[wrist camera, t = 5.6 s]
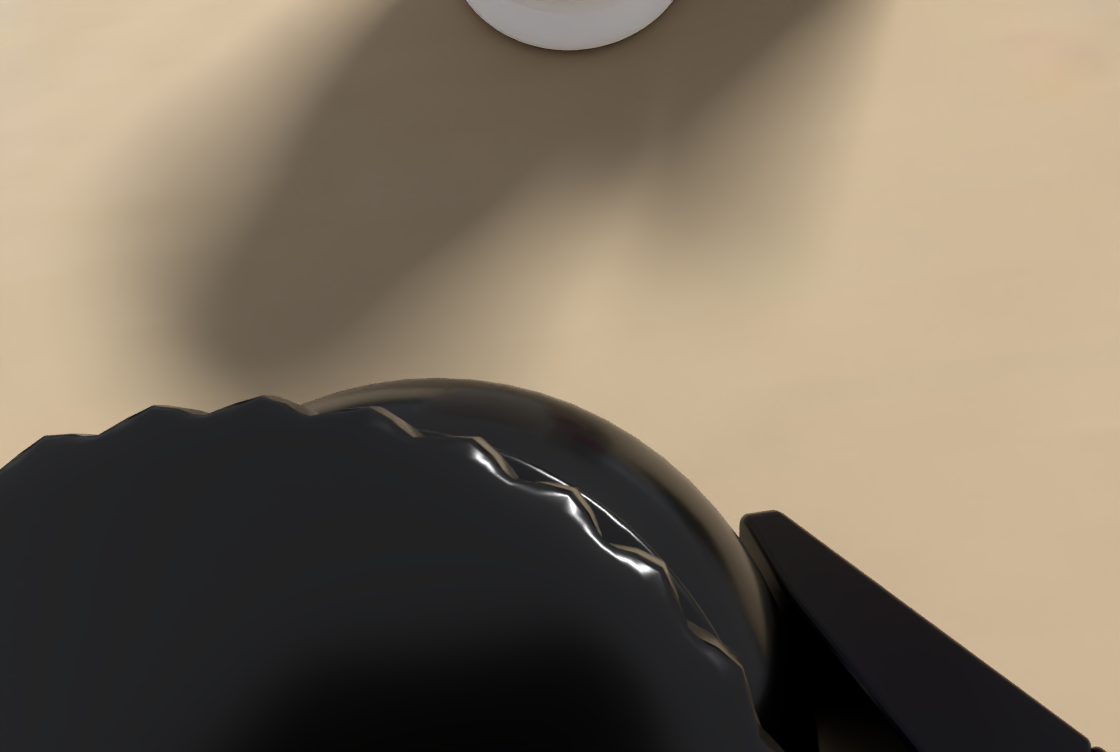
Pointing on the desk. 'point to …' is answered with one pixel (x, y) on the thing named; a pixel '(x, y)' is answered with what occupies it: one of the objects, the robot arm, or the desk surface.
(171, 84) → the desk surface
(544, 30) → the jar
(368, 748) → the supplement bottle
